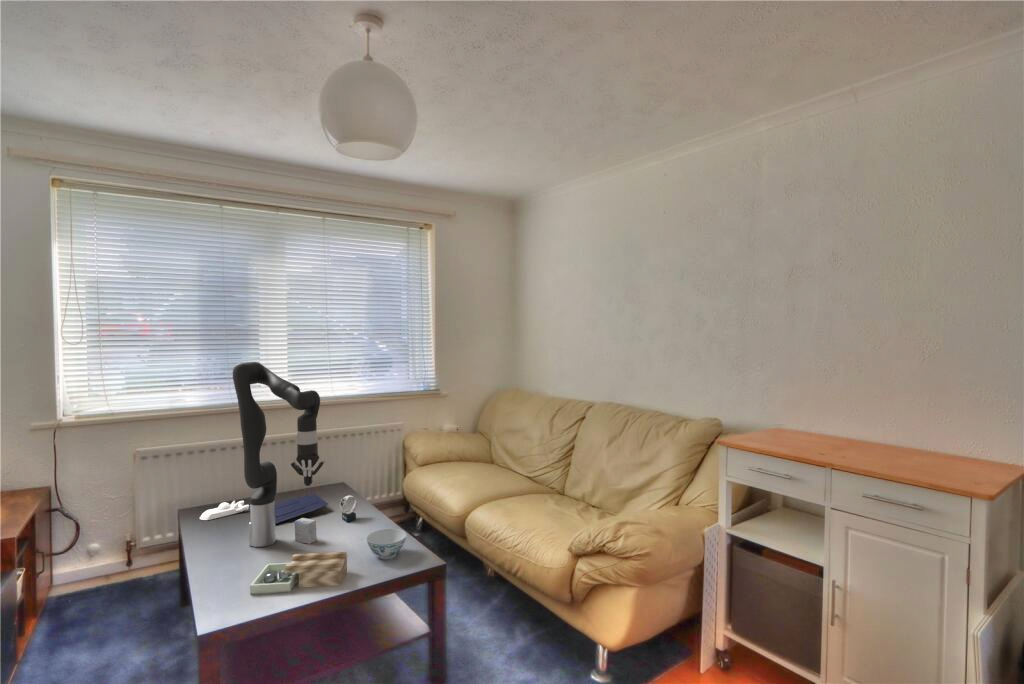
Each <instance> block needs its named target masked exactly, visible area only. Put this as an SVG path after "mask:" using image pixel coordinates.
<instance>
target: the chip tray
mask: <svg viewBox="0 0 1024 684" xmlns="http://www.w3.org/2000/svg"><path fill="white" fill-rule="evenodd" d="M290 563H291V562H279V563H276V562H275V563H267V564H266V565H265V566H264V567H263V569H261V571H260V573H259V574H258V575H257V576H256V577H255V578H254V579H253V581H252V582H251V584H250V585H249V594H250V595H262V594H263V595H265V594H278V593H279V594H280V593H291V592H292V590H293V588H294V586H295V585H296V584H297V582H299V573H293V576H291V577H287V578H284V579H280V580H279V572H281V571H284V570H285V566H286V564H290ZM269 571H277V575H278V580H277V581H276V582H274V583H268V584H266V583H264V574H265V573H266V572H269Z"/></svg>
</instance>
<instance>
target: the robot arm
mask: <svg viewBox="0 0 1024 684" xmlns="http://www.w3.org/2000/svg"><path fill="white" fill-rule="evenodd" d="M232 380H233V381H232V382H233V384H234V389H235V394H236V398H237V404H238V411H239V421H240V429H241V436H242V447H243V458H244V459H243V472H244V480H245V483H246V485H247V487H249V488H250V489H253V490H254V489H256V490H255V491H254V492H253V494H251V495H250V498H249V503H250V505H249V509H250V521H249V523H248V541H249V543H248V544H249V545H248V546H249V547H254V548H263V547H264V548H265V547H269V546H271V545H273V544H275V542H276V541H277V540H276V539H277V538H276V537H277V535H276V524H275V504H276V500H275V499H276V498H275V497H276V495H277V485H278V483H277V482H278V472H277V468H276V466H275V464H274V463H273V462H271V461H263V462H261V458H260V457H261V455H260V454H261V448H262V445H263V443H264V440H265V437H266V434H267V423H266V416H265V413H264V411H263V409H262V408H261V407H260V405H259V404H258V403H257V402H256V400H255V398H254V397H253V393H252V389H251V388H252V387H251V385H255V384H261V385H264V386H267V387H268V388H269V390H270V391H271V393H272V394H273V395H274V396H276V397H278V398H280V399H282V400H284V401H286V402H287V403H288V404H289V405H290V406H291V407H292V408H294V409H295V410H298V411H304V412H303V413H302V414H301V415H299V416H298V417H297V423H296V424H297V425H296V427H297V434H296V448H297V449H296V451H297V454H296V455H297V457H296V459H295V460H294V461H292V462H291V463H290V466H291V467H292V469H293V470H294V471H295V472H296V473H297V474H298V475H299V476H302V477H303V484H304V485H305V487H311V485H312V484H313V476H314V475H315V476H316V475H317V474H318V472H319V471H320V470H321V468H322V467H323V465H324V464H325V462H326V461H325V460H322V459H320V455H319V449H318V448H319V447H318V442H319V439H318V430H317V418H318V414H319V410H320V406H321V398H320V394H319V393H318V391H316V390H312V389H311V390H306V391H301V389H300V387H299V386H298V385H296V384H294V383H292V382H290V381H288V380H285V379H284V378H282V377H281V376H278V375H277V374H276V373H274V372H273V371H271V370H270V369H268V368H267V367H266V366H264V365H263V364H262V363H260V362H257V361H246V362H240V363H236V364H235V365H234V366H233V368H232ZM316 464H317V466H316ZM314 466H316V468H315V469H314Z"/></svg>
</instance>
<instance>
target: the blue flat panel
mask: <svg viewBox="0 0 1024 684" xmlns="http://www.w3.org/2000/svg"><path fill="white" fill-rule="evenodd" d="M328 505H329V502H327V501H326V500H324V499H323V498H321V497H320V496H319V495H318V494H316V493H313V494H309V495H308V494H305V495H303V496H298V497H295V498H291V499H288V500H286V501H281V502H278V503H275V525H276V524H280V523H281V522H284V521H287V520H289V519H292V518H296V517H298V516H301V515H304V514H307V513H311V512H313V511H316V510H318V509H321V508H323V507H324V506H328Z"/></svg>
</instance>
